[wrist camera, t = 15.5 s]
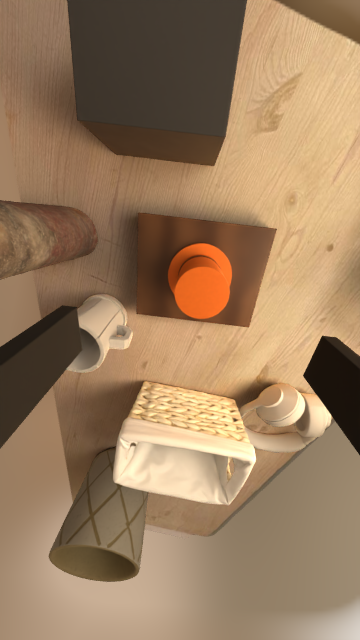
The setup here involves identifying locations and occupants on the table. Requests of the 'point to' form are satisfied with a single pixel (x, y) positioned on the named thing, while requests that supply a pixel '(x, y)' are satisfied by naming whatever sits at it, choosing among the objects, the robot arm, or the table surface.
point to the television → (156, 74)
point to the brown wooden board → (176, 233)
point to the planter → (102, 527)
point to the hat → (200, 280)
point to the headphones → (287, 418)
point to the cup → (100, 331)
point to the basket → (183, 445)
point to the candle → (41, 236)
